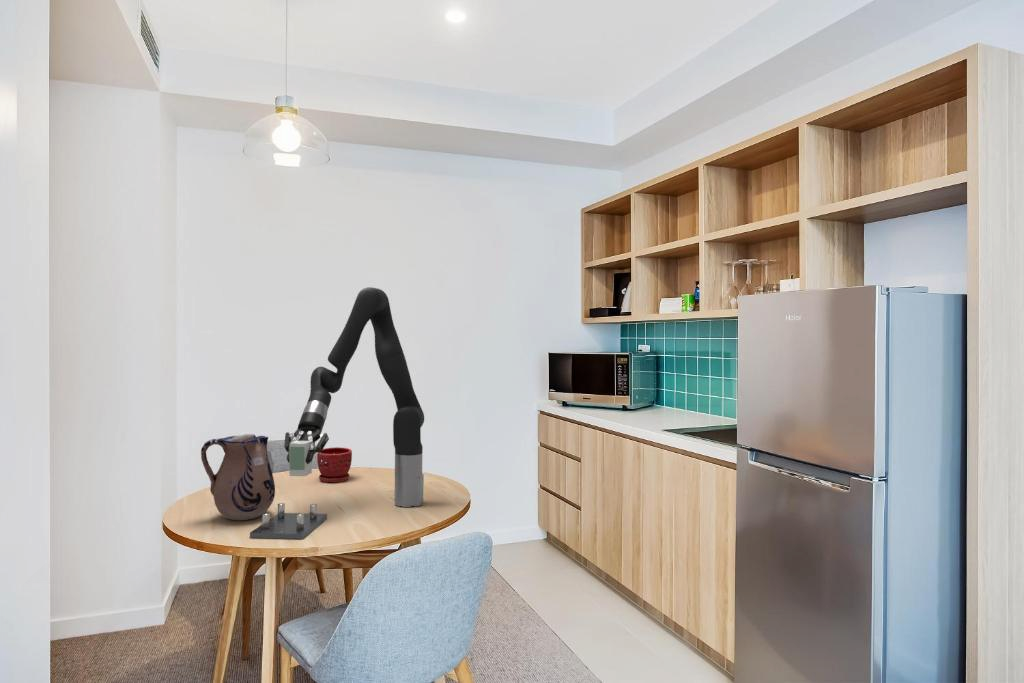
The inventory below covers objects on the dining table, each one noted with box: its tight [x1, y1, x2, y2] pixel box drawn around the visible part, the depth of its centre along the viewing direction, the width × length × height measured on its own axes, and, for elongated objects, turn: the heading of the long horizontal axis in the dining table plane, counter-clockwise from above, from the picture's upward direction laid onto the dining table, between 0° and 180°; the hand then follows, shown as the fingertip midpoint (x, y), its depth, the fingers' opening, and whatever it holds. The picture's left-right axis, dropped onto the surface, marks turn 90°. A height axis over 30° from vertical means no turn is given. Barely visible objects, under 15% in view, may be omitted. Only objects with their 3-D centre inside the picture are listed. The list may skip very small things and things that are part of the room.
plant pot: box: [316, 446, 353, 483], centre depth 247 cm, size 13×13×12 cm
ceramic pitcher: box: [200, 433, 276, 521], centre depth 196 cm, size 18×21×25 cm
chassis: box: [249, 502, 328, 540], centre depth 186 cm, size 15×20×6 cm
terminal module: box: [288, 440, 313, 477], centre depth 195 cm, size 5×5×10 cm
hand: (298, 462), depth 193 cm, fingers closed on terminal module, 5 cm apart
